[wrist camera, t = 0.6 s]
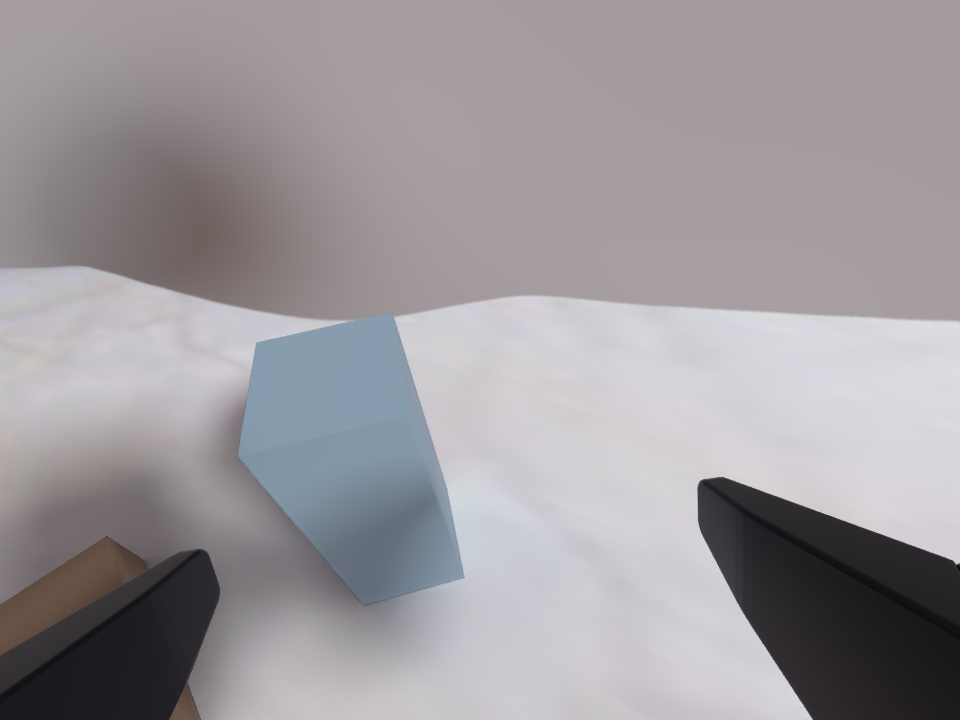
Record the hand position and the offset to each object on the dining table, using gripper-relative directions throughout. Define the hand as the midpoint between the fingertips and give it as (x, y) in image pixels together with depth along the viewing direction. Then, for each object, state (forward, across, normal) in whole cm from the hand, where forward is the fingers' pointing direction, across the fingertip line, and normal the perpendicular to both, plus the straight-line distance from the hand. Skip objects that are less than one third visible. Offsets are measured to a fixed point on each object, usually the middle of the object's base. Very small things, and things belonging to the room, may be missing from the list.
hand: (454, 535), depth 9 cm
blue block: (+14, +4, +10) cm, 18 cm away
